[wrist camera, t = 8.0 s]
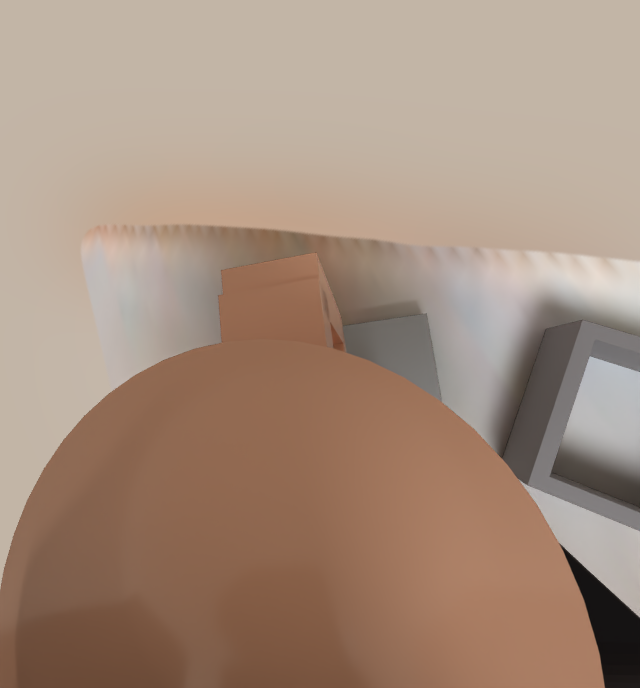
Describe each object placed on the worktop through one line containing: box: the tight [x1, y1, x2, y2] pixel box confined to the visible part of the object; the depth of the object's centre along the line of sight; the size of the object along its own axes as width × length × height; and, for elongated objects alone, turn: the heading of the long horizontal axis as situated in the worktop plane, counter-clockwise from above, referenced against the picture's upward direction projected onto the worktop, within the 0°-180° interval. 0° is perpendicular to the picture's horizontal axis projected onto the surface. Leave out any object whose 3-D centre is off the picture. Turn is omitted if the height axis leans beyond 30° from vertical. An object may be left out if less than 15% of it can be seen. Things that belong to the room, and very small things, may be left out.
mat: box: [343, 313, 442, 402], centre depth 18 cm, size 12×12×1 cm
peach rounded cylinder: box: [0, 252, 605, 688], centre depth 9 cm, size 8×7×13 cm
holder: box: [502, 320, 640, 531], centre depth 15 cm, size 9×9×3 cm
